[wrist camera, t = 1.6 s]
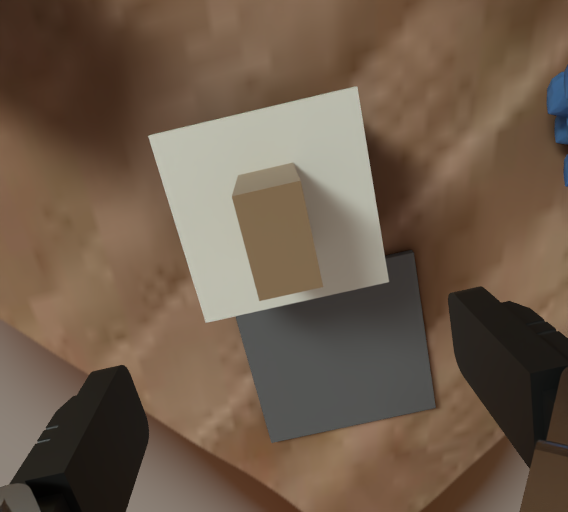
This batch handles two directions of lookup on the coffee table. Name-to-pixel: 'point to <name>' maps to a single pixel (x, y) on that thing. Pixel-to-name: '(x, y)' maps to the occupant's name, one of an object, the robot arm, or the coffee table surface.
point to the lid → (274, 204)
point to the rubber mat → (341, 356)
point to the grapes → (560, 111)
